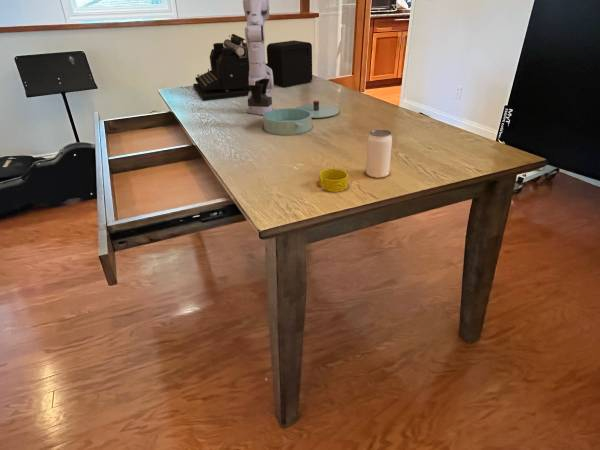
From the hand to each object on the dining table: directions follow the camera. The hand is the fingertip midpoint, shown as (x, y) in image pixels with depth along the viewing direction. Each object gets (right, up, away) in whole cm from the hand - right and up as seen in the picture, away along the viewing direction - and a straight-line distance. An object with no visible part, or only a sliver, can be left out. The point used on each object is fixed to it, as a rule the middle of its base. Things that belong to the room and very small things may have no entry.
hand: (259, 101), depth 153 cm
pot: (+10, -9, +3) cm, 14 cm away
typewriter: (-23, +22, +57) cm, 66 cm away
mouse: (0, -1, +1) cm, 1 cm away
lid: (+22, +1, +18) cm, 29 cm away
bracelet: (+24, -36, -42) cm, 60 cm away
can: (+37, -32, -36) cm, 61 cm away
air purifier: (+9, +31, +70) cm, 77 cm away
